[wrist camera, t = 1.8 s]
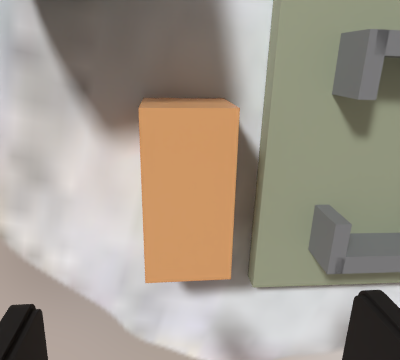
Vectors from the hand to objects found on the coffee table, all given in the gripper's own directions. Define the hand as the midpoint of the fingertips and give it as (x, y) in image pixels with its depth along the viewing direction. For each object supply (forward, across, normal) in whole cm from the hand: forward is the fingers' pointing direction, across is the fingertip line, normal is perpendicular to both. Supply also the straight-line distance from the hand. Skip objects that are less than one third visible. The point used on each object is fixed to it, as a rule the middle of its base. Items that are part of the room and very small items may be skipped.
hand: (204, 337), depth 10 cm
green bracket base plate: (+14, -13, -3) cm, 19 cm away
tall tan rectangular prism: (+14, 0, -1) cm, 14 cm away
